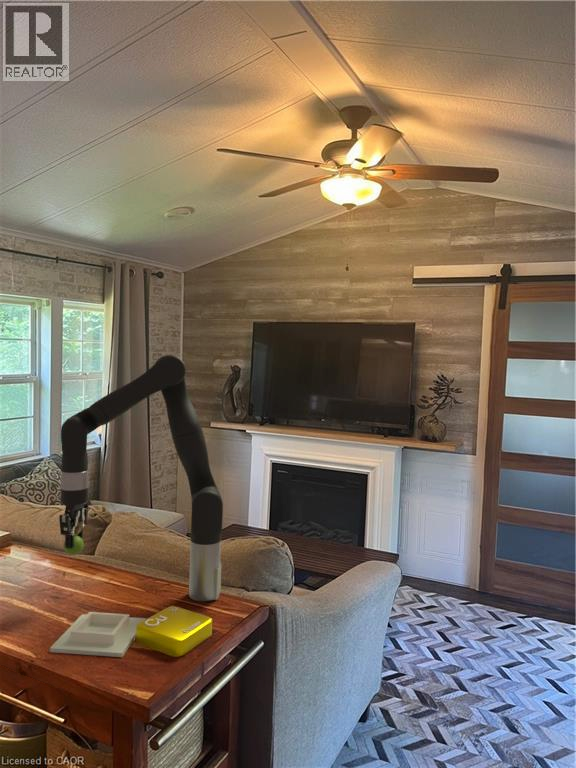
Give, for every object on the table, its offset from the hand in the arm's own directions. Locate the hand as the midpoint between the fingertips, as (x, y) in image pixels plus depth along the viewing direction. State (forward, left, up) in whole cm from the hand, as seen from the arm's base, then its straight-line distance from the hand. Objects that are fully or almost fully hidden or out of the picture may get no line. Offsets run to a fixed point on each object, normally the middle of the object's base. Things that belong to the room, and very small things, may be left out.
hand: (74, 544), depth 157 cm
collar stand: (-15, +16, -18) cm, 28 cm away
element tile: (-34, +14, -18) cm, 41 cm away
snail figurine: (0, 0, -3) cm, 3 cm away
